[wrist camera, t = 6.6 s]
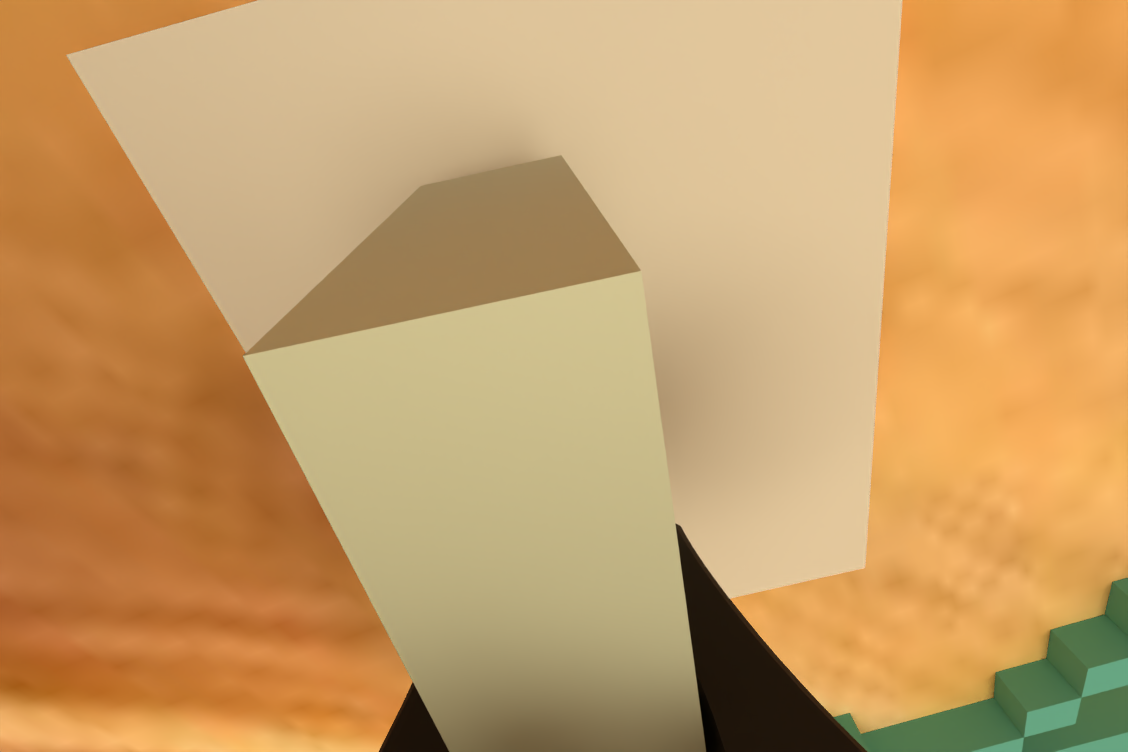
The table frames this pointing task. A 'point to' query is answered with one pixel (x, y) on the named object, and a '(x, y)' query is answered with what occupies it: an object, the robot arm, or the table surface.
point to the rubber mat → (608, 174)
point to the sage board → (499, 463)
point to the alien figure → (1036, 699)
